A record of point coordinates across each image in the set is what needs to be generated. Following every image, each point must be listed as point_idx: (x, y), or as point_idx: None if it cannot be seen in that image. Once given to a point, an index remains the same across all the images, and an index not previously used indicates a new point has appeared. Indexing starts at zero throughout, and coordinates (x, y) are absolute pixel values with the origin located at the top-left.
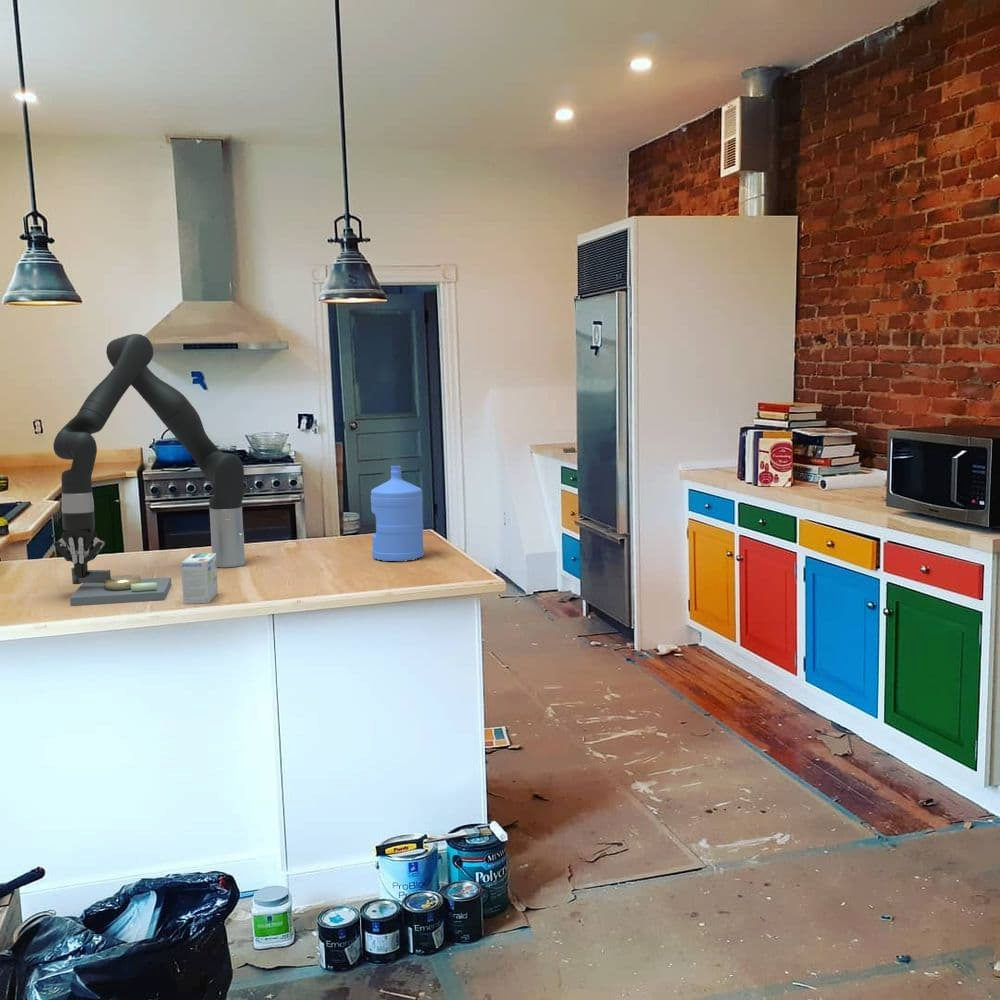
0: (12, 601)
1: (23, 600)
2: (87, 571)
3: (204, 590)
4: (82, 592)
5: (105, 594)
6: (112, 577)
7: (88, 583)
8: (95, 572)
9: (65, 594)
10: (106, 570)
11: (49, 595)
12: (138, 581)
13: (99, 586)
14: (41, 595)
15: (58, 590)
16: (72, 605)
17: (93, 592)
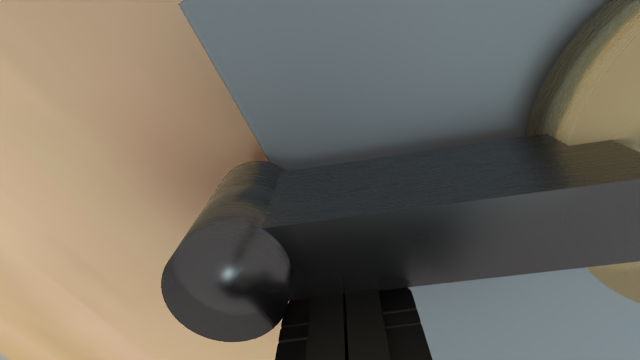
0: (27, 355)
1: (62, 332)
2: (415, 307)
3: None
4: (421, 323)
5: (621, 347)
6: (632, 130)
7: (261, 42)
8: (500, 267)
9: (178, 172)
10: (636, 201)
11: (96, 213)
12: None
13: (445, 138)
14: (45, 221)
15: (14, 66)
16: None
17: (503, 313)
